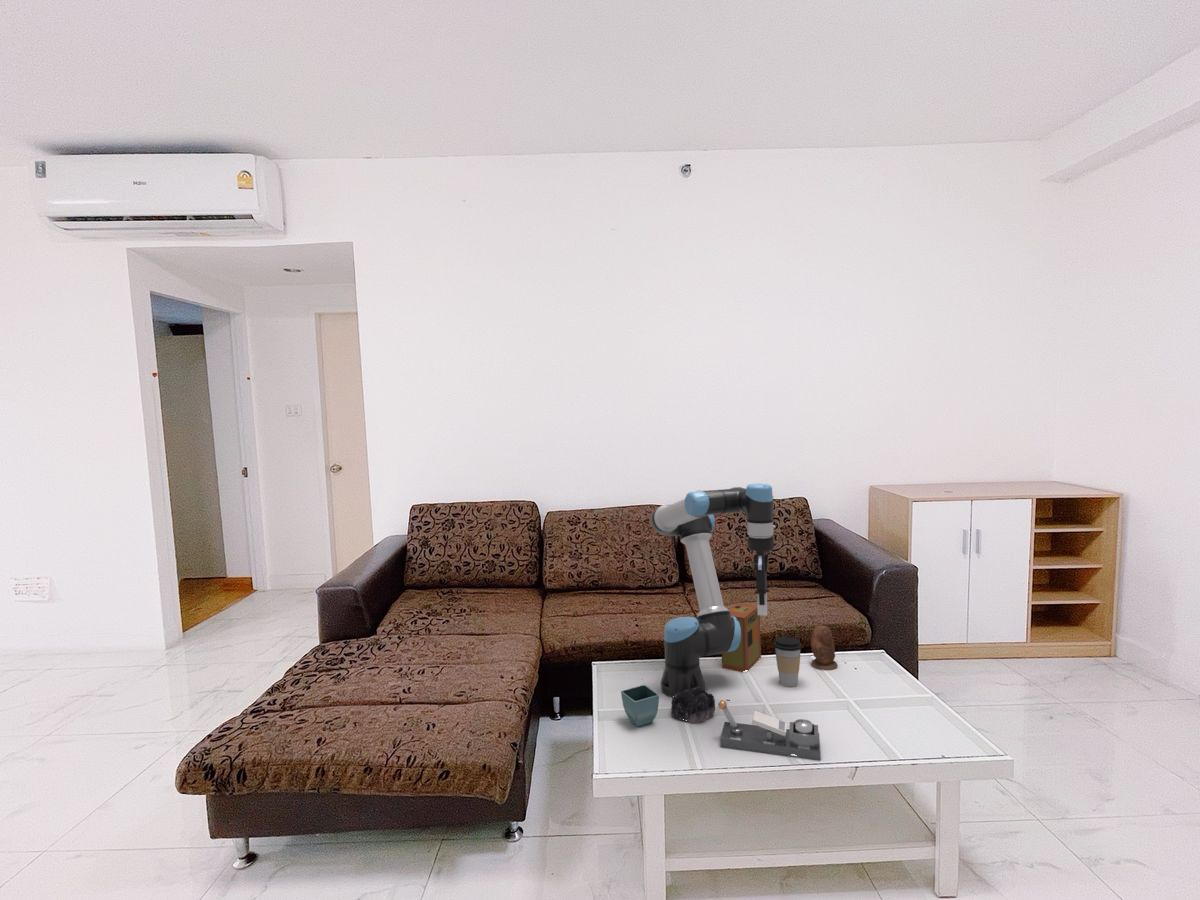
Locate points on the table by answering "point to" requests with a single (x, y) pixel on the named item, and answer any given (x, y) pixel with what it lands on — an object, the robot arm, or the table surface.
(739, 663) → the box
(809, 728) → the button
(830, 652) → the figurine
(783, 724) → the plate
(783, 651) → the coffee cup
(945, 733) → the table surface
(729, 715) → the toggle
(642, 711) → the flower pot
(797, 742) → the panel
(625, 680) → the table surface
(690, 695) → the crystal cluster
